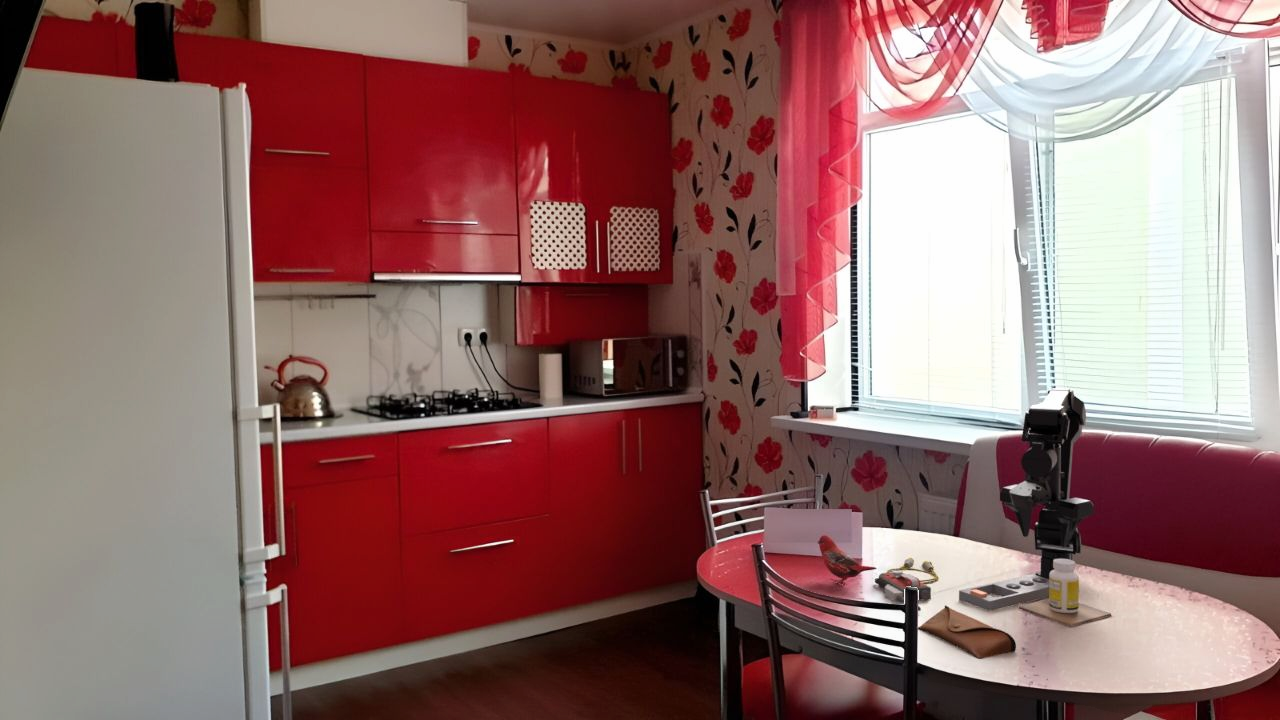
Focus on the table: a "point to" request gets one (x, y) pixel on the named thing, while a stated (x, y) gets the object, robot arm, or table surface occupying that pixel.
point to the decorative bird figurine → (839, 560)
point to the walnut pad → (1067, 619)
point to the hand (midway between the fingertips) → (1044, 541)
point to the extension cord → (925, 565)
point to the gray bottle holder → (1006, 592)
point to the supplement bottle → (1064, 587)
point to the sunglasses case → (969, 634)
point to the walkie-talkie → (901, 586)
